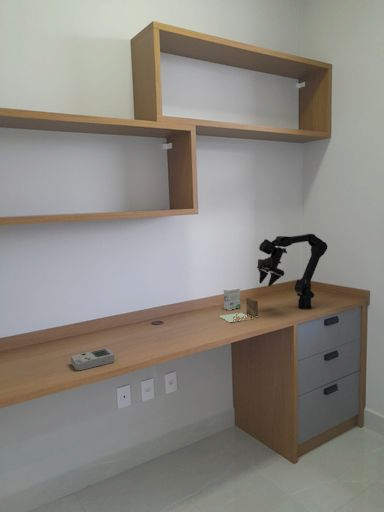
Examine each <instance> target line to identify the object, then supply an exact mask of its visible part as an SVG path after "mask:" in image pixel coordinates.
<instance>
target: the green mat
mask: <svg viewBox="0 0 384 512" xmlns="http://www.w3.org/2000/svg"><path fill="white" fill-rule="evenodd" d="M238 313H239V314H238ZM243 313H244V312H236V313H229V314H223V315H218V317H219V318H221V319H222V318H223V320H224V319H225V322H227V321H228V322H227V323H229V322H233V320H234V319H236V314H237V317H238V316H239V317H240V318H241V317H243V316H244V318H245V316H246V317H247V313H246V314H245V313H244V314H243ZM234 316H235V318H234V319H233V317H234ZM240 320H241V319H240ZM240 320H239V321H240ZM243 320H244V319H243ZM234 321H235V320H234Z"/></svg>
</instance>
